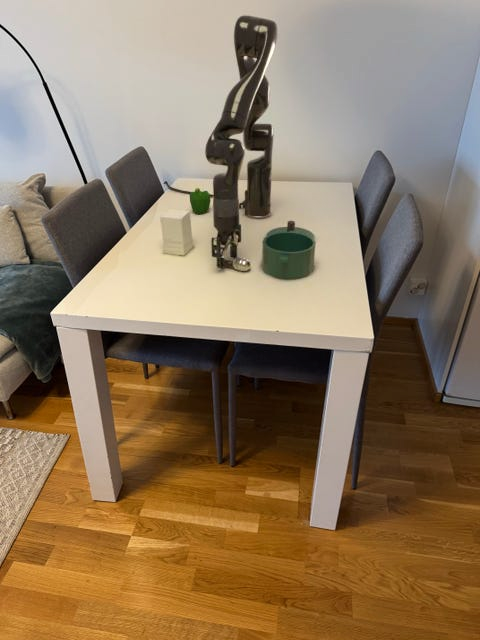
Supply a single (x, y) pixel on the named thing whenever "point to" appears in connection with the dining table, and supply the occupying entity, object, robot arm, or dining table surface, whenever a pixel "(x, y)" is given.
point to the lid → (291, 229)
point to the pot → (288, 255)
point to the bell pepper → (200, 201)
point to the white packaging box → (176, 232)
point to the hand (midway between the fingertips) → (227, 262)
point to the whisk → (238, 264)
